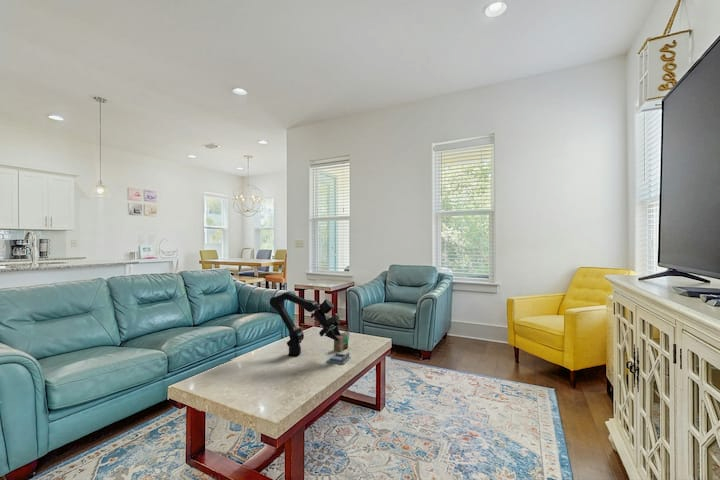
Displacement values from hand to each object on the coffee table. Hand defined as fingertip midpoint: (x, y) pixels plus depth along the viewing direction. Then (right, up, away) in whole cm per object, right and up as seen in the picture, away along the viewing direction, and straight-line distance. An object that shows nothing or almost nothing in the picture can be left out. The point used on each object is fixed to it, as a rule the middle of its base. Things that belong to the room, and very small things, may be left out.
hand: (339, 339), depth 193 cm
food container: (+2, -13, +21) cm, 25 cm away
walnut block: (0, -7, 0) cm, 7 cm away
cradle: (0, -12, +1) cm, 12 cm away
